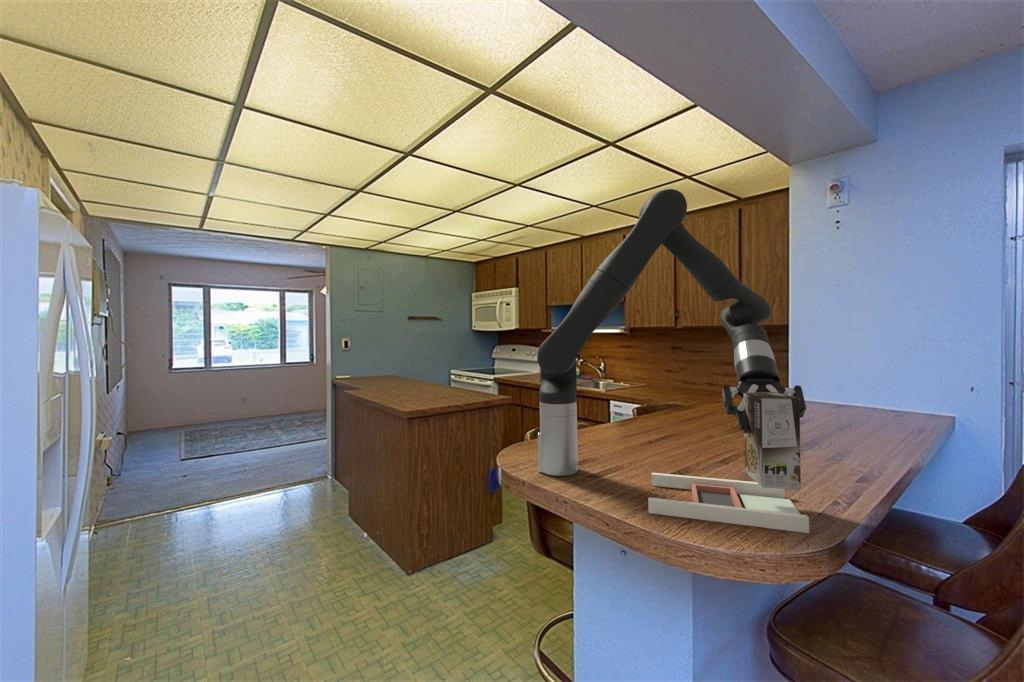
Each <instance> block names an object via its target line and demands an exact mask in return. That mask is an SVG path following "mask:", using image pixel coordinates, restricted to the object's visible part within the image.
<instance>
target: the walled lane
mask: <svg viewBox="0 0 1024 682" xmlns="http://www.w3.org/2000/svg"><path fill="white" fill-rule="evenodd" d="M691 483H693V484H703V485H713V486H724V487H734V489H735V491H736V494H737V495H739V496H740V494H742V495H752V496H762V497H771V498H781V499H786V497H785V496H786V495H785V494H786V493H785V489H777V488H763V487H762V486H761V485H759V484H758V483H757V482H756V481H747V480H746V481H745V480H739V479H738V480H735V479H728V478H727V479H726V478H713V477H705V476H704V477H703V476H696V475H695V476H693V475H682V474H681V475H680V474H671V473H661V472H651V486H654V487H664V488H670V489H671V488H672V489H681V490H691ZM647 501H648V502H647V503H648V506H647V507H648V514H652V515H663V516H670V517H675V518H677V517H678V518H685V519H693V520H702V521H708V522H716V523H717V522H718V523H725V524H733V525H740V526H748V527H757V528H758V527H759V528H765V529H772V530H773V529H774V530H778V531H779V530H782V531H789V532H794V533H795V532H797V533H798V532H799V533H805V534H810V517H809V516H808V515H807V514H801V513H800V514H793V513H784V512H775V511H766V510H757V509H748V508H745V507H742V508H740V507H731V506H722V505H713V504H704V503H695V502H693V501H685V500H676V499H667V498H661V497H660V498H658V497H648V499H647Z"/></svg>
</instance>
